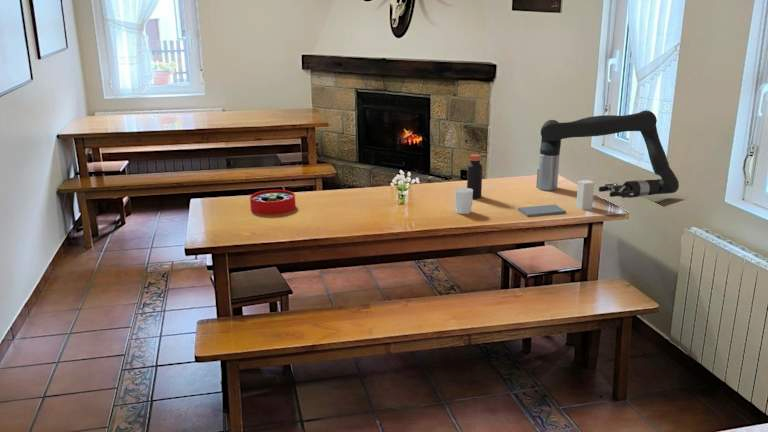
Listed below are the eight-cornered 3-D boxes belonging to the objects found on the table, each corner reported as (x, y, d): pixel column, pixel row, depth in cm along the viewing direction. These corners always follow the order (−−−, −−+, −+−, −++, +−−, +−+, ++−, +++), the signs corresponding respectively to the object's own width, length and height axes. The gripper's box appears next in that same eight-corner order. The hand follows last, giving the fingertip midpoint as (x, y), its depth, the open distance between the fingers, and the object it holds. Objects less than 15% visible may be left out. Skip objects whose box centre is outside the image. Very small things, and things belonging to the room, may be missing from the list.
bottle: (480, 199, 321) (482, 157, 314) (466, 198, 322) (467, 156, 316) (481, 195, 327) (483, 153, 321) (467, 194, 328) (468, 153, 322)
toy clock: (281, 204, 297) (241, 199, 304) (282, 216, 299) (242, 212, 306) (302, 191, 315) (264, 188, 322) (303, 204, 317) (264, 200, 324)
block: (582, 209, 303) (584, 183, 300) (576, 206, 308) (578, 180, 304) (592, 208, 305) (594, 182, 301) (585, 205, 309) (588, 179, 306)
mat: (527, 216, 295) (527, 214, 295) (517, 209, 304) (517, 207, 304) (565, 213, 299) (565, 210, 299) (554, 206, 308) (555, 204, 308)
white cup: (474, 210, 305) (474, 188, 302) (470, 215, 298) (470, 193, 294) (456, 208, 307) (457, 187, 304) (452, 213, 300) (452, 191, 297)
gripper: (627, 176, 317) (596, 179, 312) (646, 184, 303) (614, 187, 299) (625, 192, 319) (595, 195, 315) (645, 201, 306) (613, 204, 302)
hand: (604, 191), depth 307 cm, fingers open, 8 cm apart
